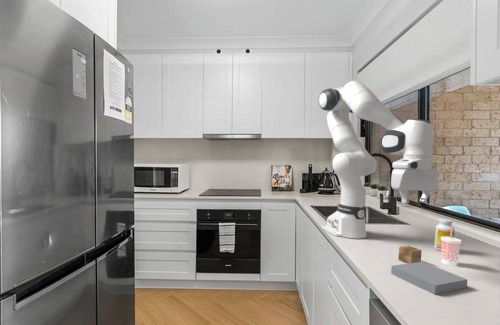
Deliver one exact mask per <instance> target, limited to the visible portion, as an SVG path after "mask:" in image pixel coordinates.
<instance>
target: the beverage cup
mask: <svg viewBox="0 0 500 325" xmlns="http://www.w3.org/2000/svg"><path fill="white" fill-rule="evenodd" d="M452 228H454V227H453V224H452V225H451V233H450V237H445V236H442V237H441V251H440V252H441V254H440V255H441V256H440V257H441V258H440V260H441V263H442V264H444V265H447V266H450V267H452V266H453V267H456V266H458V260H459V254H460V247H461V243H462V239H459V238H456V237H454V238H453V237H452Z"/></svg>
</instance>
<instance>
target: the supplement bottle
mask: <svg viewBox="0 0 500 325" xmlns="http://www.w3.org/2000/svg"><path fill="white" fill-rule="evenodd" d="M451 225H453V220H451V219H449V218H448V219H447V218H438V224H437V225H435V226H434V227H435V231H434V242H433V243H434V244H433V247H434V249H435V250H436V251H439V252H441V237H442V236H445V237H450V233H451ZM455 231H456V230H455V228H454V227H453V228H452V237H453V238H455V233H456V232H455Z"/></svg>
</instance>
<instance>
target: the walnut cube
mask: <svg viewBox="0 0 500 325" xmlns="http://www.w3.org/2000/svg"><path fill="white" fill-rule="evenodd" d="M422 253H423V252H422V249H419V248H418V247H413V246H411V245H404V246H403V245H402V246H398V259H397V260H398V261H399V262H402V263H403V264H406V263H407V264H408V263H416V262H422Z"/></svg>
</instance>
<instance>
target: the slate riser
mask: <svg viewBox="0 0 500 325" xmlns="http://www.w3.org/2000/svg"><path fill="white" fill-rule="evenodd" d="M390 273H391V275H393V276H396V277H398V278H400V279H402V280H403V281H406V282H409V283H410V284H412V285H414V286H415V287H418V288H421V289H422V290H425V291H426V290H427V292H428V291H429V292H428V293H430V294H432V295H438V294H439V293H440V294H444V293H448V292H454V291H457V289H459V290H463V289H462V288H464V289H468V279H467V278H465V277H462V276H460V275H457V274H454V273H452V272H449V271H447V270H445V269H442V268H440V267H436V266H435V265H433V264H432V265H431V264H429V263H426V262H424V261H421V262H416V263H408V264H406V263H402V264H395V265H391V271H390ZM453 290H454V291H453ZM440 294H439V295H440Z"/></svg>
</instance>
